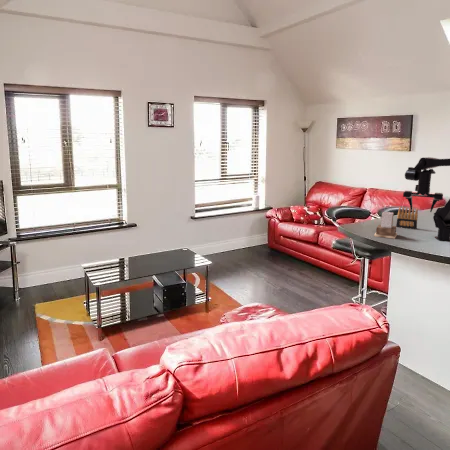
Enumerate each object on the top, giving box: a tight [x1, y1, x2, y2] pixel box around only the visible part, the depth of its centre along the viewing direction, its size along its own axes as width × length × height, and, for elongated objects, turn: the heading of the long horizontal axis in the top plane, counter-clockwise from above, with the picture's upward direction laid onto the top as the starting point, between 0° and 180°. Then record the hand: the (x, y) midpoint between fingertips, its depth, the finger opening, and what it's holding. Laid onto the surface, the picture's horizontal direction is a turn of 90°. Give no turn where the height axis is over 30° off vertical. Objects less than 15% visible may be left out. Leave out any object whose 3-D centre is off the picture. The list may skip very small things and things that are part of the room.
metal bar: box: [380, 211, 394, 229], centre depth 222 cm, size 5×5×11 cm
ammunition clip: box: [396, 206, 419, 230], centre depth 241 cm, size 11×2×12 cm, turn 62°
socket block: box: [373, 224, 398, 239], centre depth 223 cm, size 10×10×4 cm
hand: (421, 211), depth 226 cm, fingers open, 9 cm apart
